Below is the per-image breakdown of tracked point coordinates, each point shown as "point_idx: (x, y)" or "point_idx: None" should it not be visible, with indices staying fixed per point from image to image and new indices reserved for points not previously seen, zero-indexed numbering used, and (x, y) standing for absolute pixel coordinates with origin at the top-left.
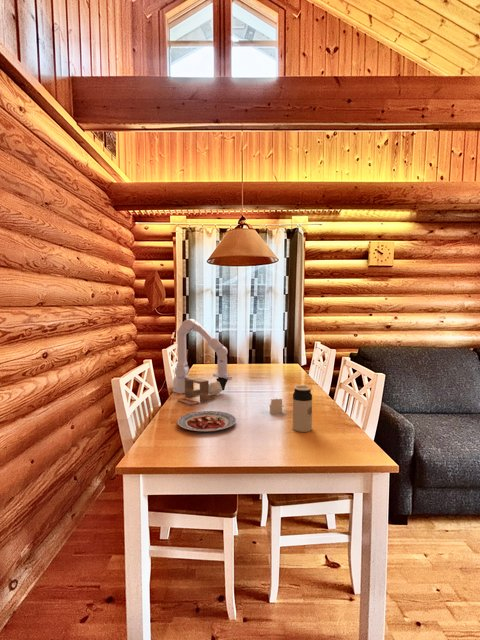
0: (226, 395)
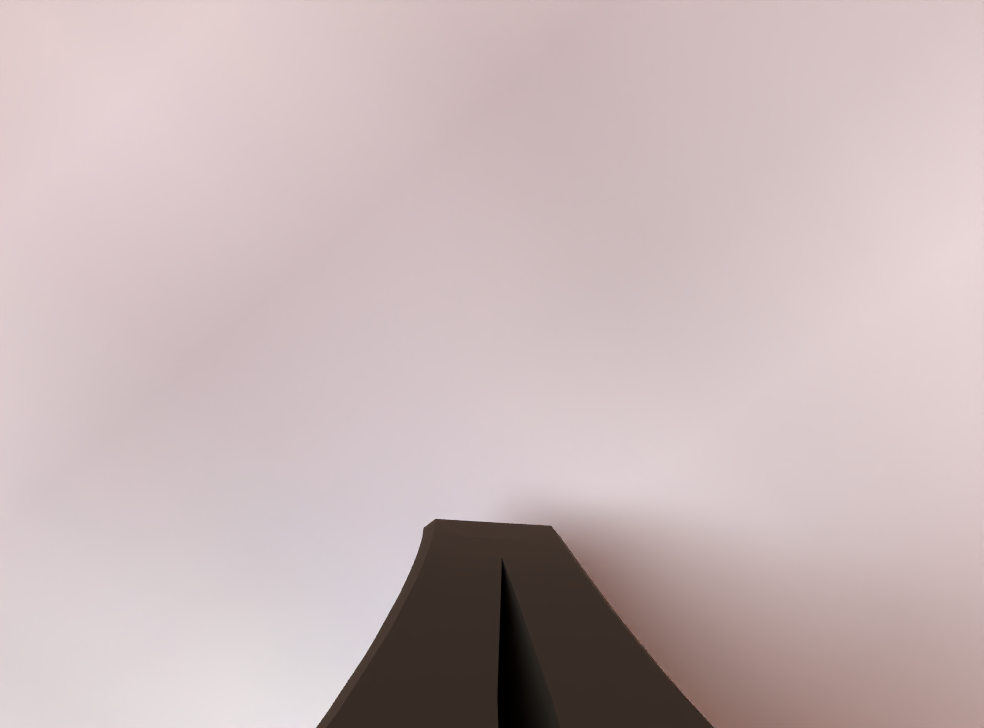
0: (883, 668)
